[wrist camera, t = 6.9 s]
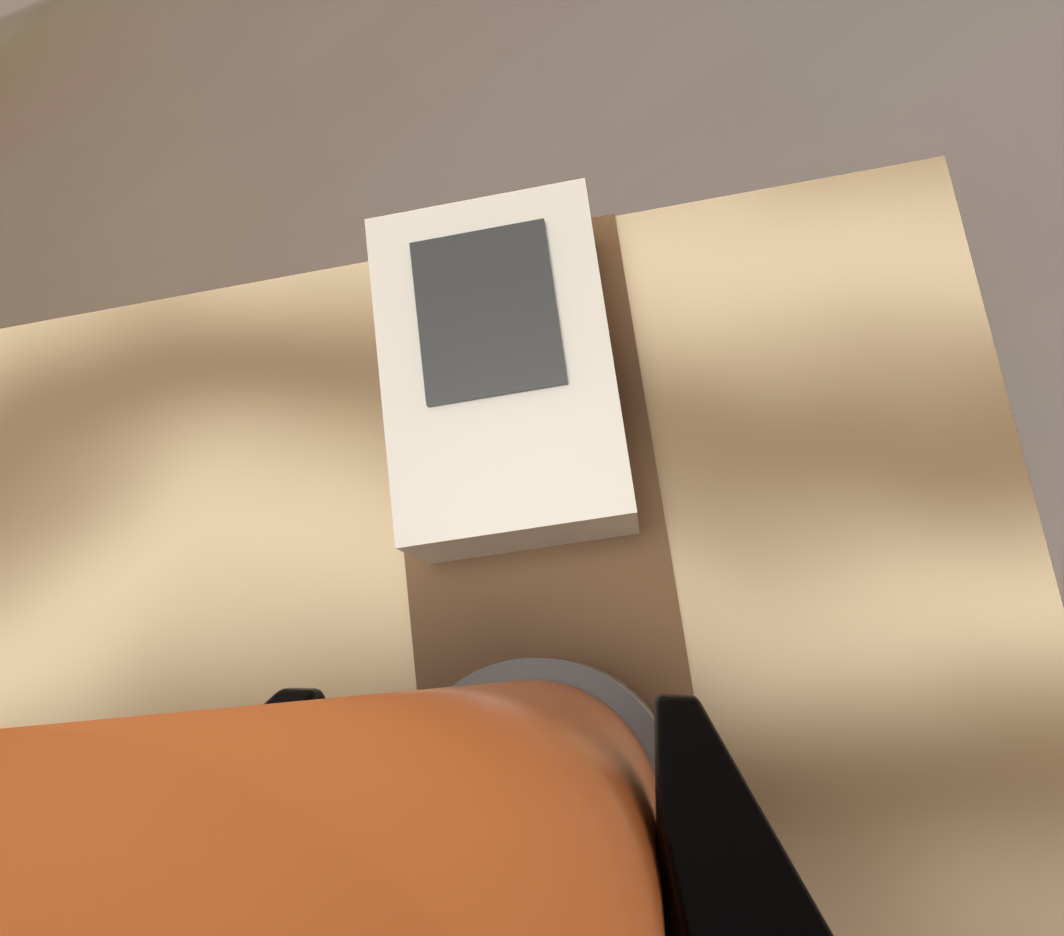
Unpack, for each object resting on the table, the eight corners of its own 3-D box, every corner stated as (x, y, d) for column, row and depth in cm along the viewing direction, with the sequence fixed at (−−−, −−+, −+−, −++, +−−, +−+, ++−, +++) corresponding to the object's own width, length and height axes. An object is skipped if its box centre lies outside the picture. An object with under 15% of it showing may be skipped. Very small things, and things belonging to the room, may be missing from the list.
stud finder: (640, 533, 17) (636, 510, 14) (430, 564, 17) (392, 547, 15) (593, 240, 18) (583, 172, 15) (401, 275, 18) (361, 215, 16)
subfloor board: (1224, 1384, 14) (1294, 1473, 13) (-151, 1447, 17) (-234, 1528, 15) (922, 194, 19) (946, 153, 17) (-109, 379, 21) (-168, 357, 20)
